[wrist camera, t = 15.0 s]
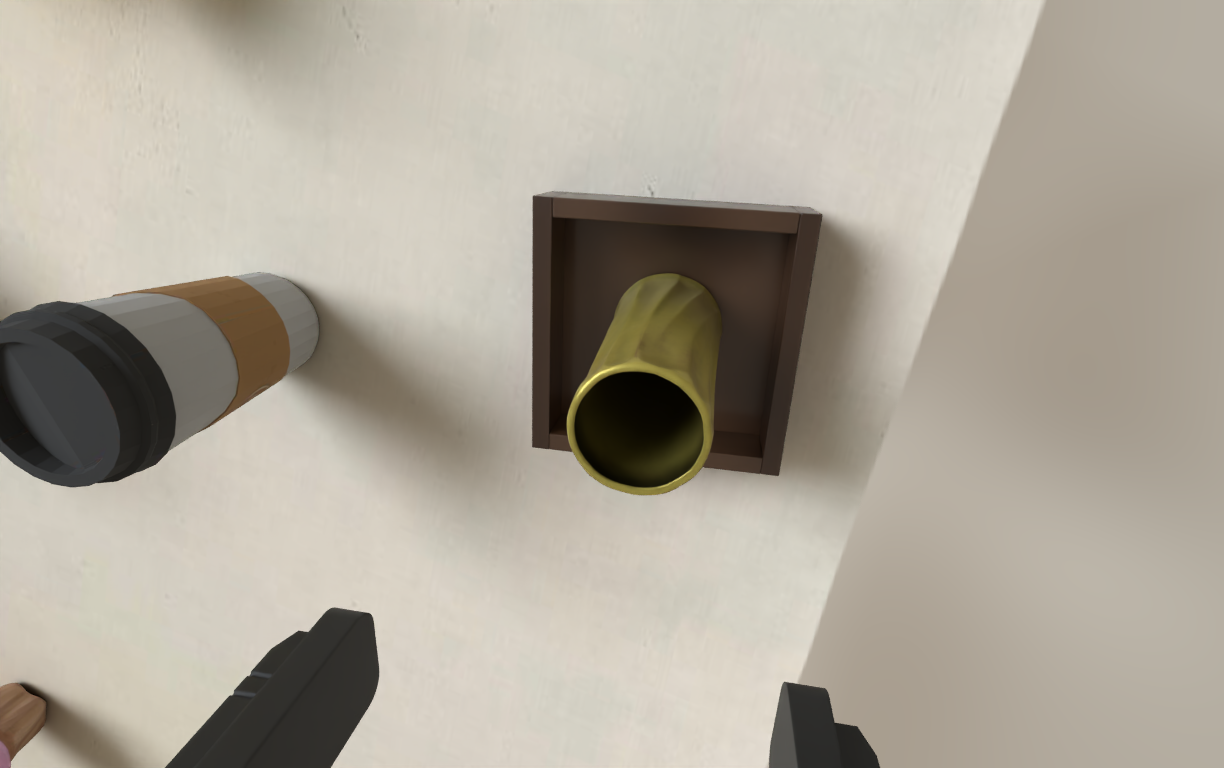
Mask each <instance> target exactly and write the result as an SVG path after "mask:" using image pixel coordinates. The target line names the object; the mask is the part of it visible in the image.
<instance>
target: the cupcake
mask: <svg viewBox="0 0 1224 768" xmlns="http://www.w3.org/2000/svg"><path fill="white" fill-rule="evenodd" d="M45 721H46V701H45V700H43V699H41V698H40V697H38V696H34V695H32V694H30V693H28V692H27V691H26V690H25V689H24V688H23V687H22V686H21V685H20V684H18V683H11V684H7V685H4V686H2V687H0V768H11V761H12V759H13V758H14V756H15V755H16V754H17V753H18V752H19V751H20V750H21V749H22V748H23V747H24V746H25V745H26V744H27V743H28V742H29V741H30V740H31V739H32V738H33V737H34V736H35V735H36V734H37V733H38V732H39V731H40V730H41V728H42V727H43V726H44V723H45Z"/></svg>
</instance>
